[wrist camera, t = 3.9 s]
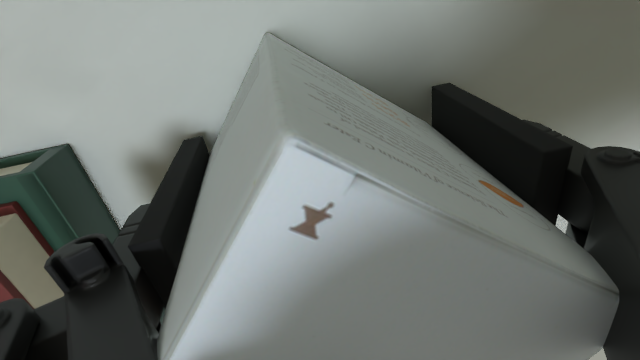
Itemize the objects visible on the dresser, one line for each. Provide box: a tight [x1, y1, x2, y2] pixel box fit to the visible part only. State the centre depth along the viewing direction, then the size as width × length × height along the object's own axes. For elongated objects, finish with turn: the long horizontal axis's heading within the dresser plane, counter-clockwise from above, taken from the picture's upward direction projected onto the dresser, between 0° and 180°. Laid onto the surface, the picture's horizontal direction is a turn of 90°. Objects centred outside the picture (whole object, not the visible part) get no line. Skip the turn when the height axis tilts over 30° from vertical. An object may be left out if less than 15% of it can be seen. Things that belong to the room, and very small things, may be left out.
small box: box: [157, 33, 619, 360], centre depth 11 cm, size 8×6×10 cm
